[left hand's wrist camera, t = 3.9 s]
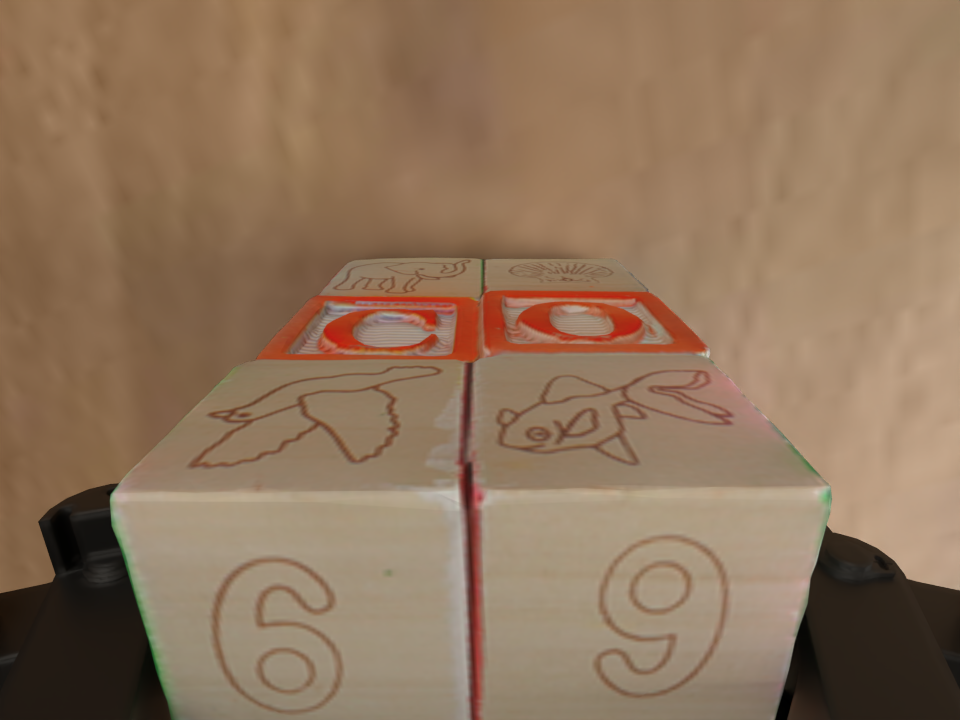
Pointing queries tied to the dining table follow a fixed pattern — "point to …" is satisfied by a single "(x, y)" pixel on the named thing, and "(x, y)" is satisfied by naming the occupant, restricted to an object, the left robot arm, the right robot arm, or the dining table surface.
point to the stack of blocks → (474, 511)
